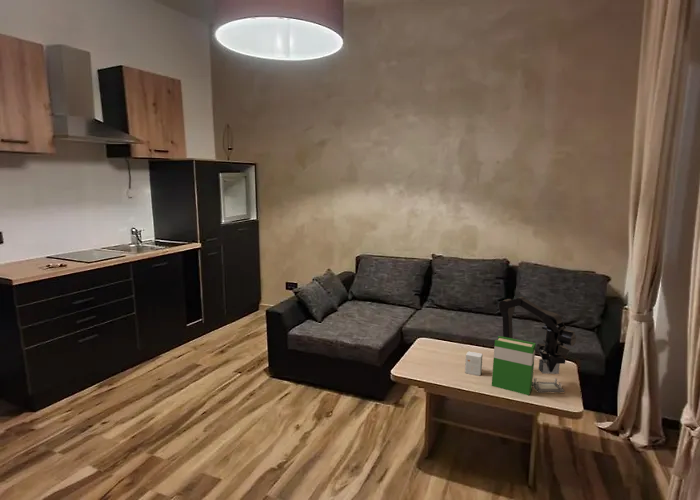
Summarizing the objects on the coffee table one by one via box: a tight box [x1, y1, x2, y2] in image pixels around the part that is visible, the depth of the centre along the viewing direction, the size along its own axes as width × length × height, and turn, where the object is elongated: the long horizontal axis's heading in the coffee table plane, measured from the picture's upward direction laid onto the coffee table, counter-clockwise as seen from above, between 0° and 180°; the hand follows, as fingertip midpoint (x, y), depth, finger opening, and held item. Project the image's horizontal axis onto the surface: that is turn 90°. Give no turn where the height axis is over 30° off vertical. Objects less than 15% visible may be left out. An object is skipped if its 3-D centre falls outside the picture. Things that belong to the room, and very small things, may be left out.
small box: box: [464, 351, 483, 377], centre depth 232 cm, size 8×6×10 cm
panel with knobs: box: [532, 377, 566, 393], centre depth 216 cm, size 13×9×4 cm
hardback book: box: [491, 335, 537, 396], centre depth 215 cm, size 18×7×24 cm, turn 58°
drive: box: [538, 358, 561, 375], centre depth 215 cm, size 8×4×6 cm, turn 90°
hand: (548, 369), depth 215 cm, fingers closed on drive, 4 cm apart
